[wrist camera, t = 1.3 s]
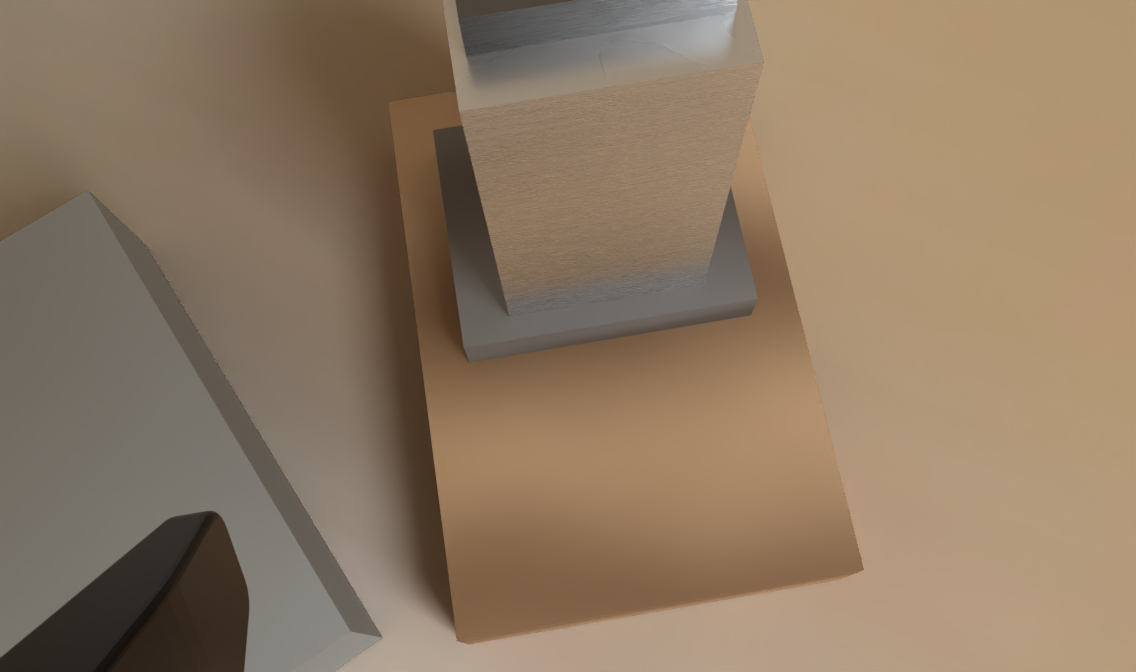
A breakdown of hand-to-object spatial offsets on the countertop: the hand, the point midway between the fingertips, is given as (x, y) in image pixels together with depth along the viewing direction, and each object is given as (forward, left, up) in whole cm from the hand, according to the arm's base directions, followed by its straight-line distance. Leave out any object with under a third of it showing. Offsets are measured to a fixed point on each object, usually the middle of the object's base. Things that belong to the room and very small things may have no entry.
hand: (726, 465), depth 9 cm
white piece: (+5, +5, -10) cm, 13 cm away
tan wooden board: (+4, +4, -14) cm, 15 cm away
